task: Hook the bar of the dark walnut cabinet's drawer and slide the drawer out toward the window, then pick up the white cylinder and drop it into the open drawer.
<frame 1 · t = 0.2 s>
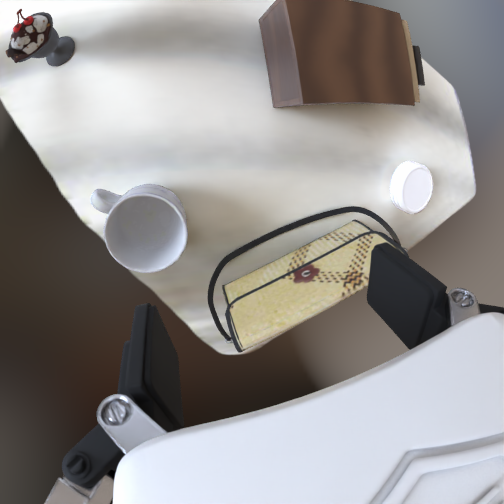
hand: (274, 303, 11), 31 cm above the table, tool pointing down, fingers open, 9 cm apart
white round disc: (405, 184, 47), on the table
drawer: (368, 58, 30), point 5 cm above the table, slide at 1.0 cm
teacup: (143, 207, 38), on the table
sundae: (60, 51, 24), on the table
clutch purse: (285, 244, 47), on the table
cabinet: (320, 60, 34), on the table
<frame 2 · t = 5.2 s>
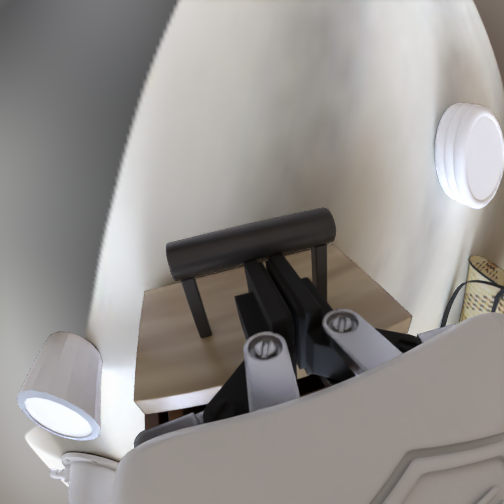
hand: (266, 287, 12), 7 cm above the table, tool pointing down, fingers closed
white round disc: (459, 150, 20), on the table
drawer: (270, 371, 17), point 5 cm above the table, slide at 1.3 cm, touching gripper
clutch purse: (450, 327, 33), on the table
cabinet: (259, 365, 24), on the table
white cylinder: (73, 353, 19), on the table
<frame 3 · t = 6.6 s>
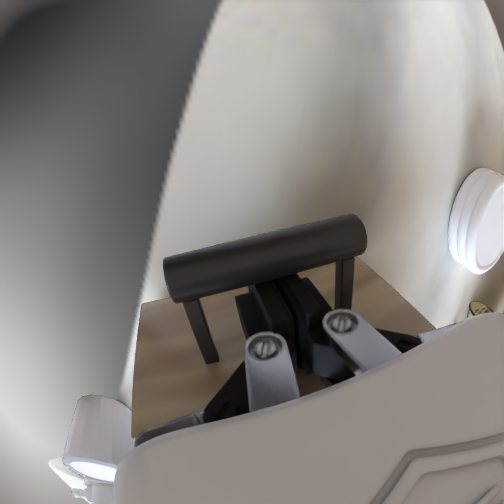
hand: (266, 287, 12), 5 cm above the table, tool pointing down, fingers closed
white round disc: (471, 214, 21), on the table
drawer: (281, 391, 15), point 5 cm above the table, slide at 7.8 cm, touching gripper
white cylinder: (104, 409, 21), on the table
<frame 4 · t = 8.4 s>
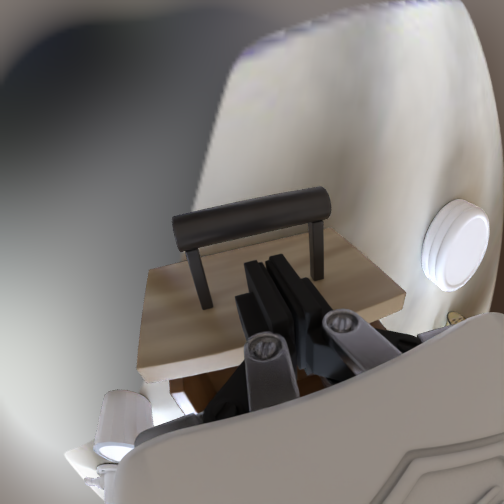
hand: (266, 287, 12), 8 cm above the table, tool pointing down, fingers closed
white round disc: (446, 238, 26), on the table
drawer: (269, 349, 18), point 5 cm above the table, slide at 12.3 cm, touching gripper
white cylinder: (127, 401, 26), on the table
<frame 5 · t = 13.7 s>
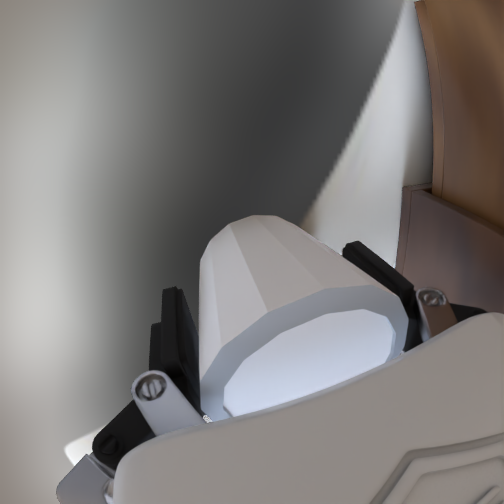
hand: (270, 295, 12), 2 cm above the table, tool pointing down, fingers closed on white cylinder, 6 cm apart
cabinet: (450, 281, 19), on the table
white cylinder: (256, 268, 14), on the table, touching gripper
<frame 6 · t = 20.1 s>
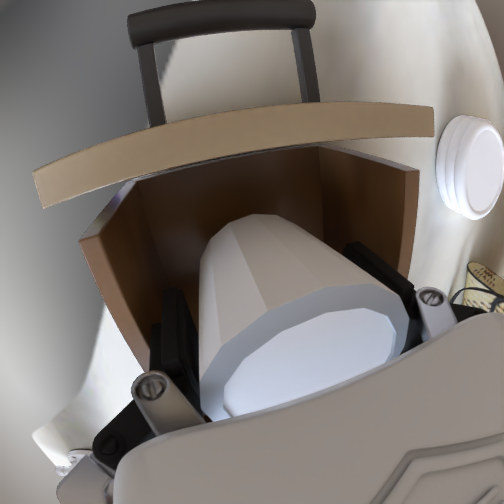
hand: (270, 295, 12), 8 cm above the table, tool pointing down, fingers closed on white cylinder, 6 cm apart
white round disc: (460, 162, 21), on the table
drawer: (253, 236, 13), point 5 cm above the table, slide at 12.1 cm
clutch purse: (448, 331, 34), on the table
white cylinder: (256, 267, 14), point 6 cm above the table, touching gripper
when the fingers open (9 cm above the table, at t = 32.3 s): white cylinder drops 5 cm, resting on drawer.
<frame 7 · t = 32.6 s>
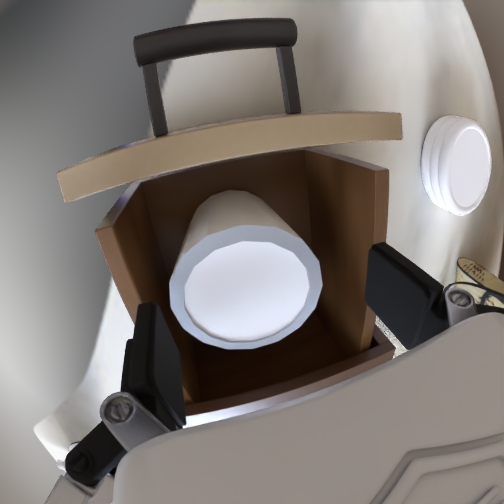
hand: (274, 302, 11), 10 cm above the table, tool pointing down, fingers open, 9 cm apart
white round disc: (446, 160, 23), on the table
drawer: (244, 230, 15), point 5 cm above the table, slide at 11.9 cm, touching white cylinder
clutch purse: (440, 326, 36), on the table
cabinet: (257, 357, 27), on the table
white cylinder: (232, 230, 18), point 2 cm above the table, touching drawer
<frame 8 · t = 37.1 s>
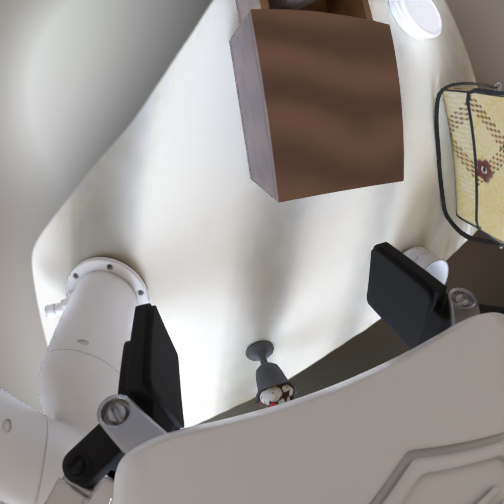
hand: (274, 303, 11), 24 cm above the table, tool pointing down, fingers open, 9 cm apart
white round disc: (408, 14, 26), on the table
teacup: (397, 271, 47), on the table
sundae: (259, 350, 47), on the table
clutch purse: (446, 158, 39), on the table
cabinet: (298, 102, 30), on the table
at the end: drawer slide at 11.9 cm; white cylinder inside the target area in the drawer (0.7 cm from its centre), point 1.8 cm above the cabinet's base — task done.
